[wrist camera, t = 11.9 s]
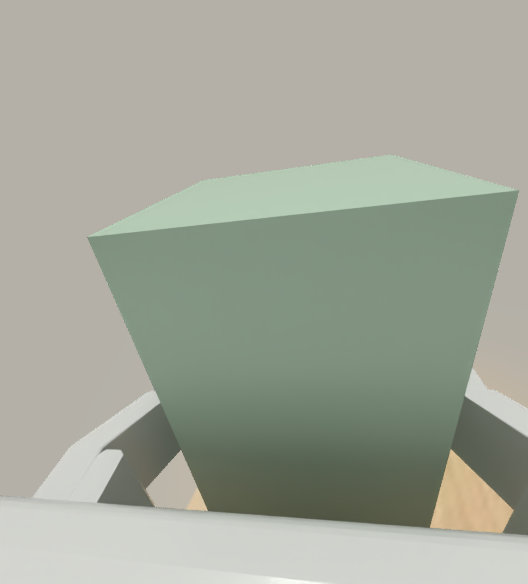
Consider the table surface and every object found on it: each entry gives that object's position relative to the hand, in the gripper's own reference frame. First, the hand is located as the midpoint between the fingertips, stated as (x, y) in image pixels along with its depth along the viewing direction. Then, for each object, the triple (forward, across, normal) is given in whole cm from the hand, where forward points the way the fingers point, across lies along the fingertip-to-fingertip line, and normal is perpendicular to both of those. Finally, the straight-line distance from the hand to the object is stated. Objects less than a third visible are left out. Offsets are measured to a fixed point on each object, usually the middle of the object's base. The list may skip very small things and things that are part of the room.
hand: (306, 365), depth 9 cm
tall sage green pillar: (-1, 0, +8) cm, 9 cm away
